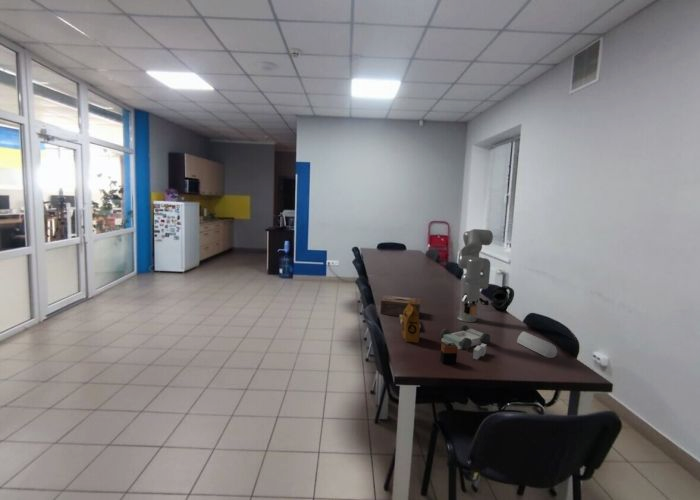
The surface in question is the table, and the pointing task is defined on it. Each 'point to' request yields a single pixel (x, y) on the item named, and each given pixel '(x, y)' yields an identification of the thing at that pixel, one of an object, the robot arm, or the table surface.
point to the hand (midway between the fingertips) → (469, 312)
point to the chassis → (465, 337)
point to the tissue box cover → (396, 305)
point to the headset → (500, 298)
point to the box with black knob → (471, 310)
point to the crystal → (537, 345)
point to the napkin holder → (479, 351)
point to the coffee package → (410, 323)
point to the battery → (448, 353)
